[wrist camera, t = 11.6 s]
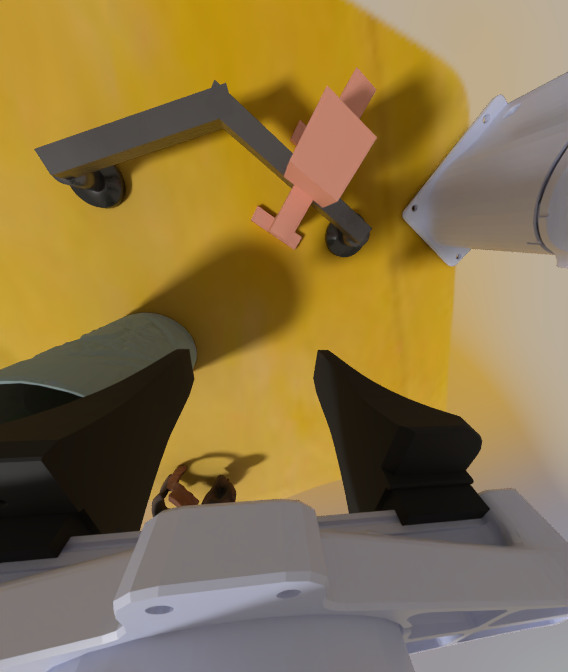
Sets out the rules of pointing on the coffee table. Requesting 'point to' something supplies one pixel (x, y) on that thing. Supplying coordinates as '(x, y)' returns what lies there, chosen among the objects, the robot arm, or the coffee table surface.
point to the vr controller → (181, 497)
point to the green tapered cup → (89, 364)
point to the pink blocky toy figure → (323, 157)
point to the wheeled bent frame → (172, 128)
